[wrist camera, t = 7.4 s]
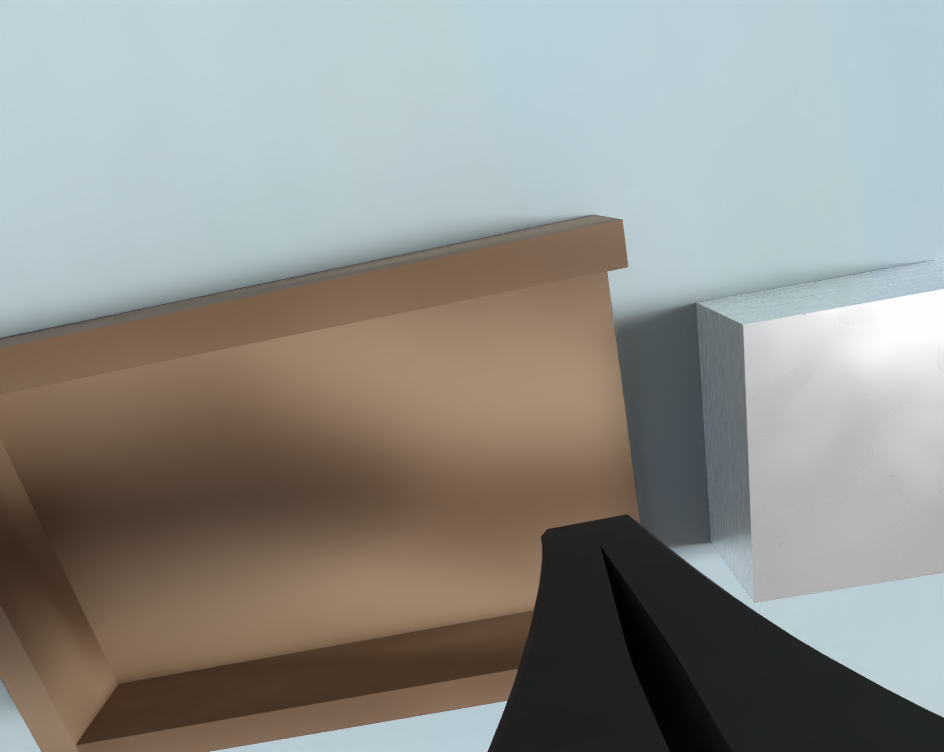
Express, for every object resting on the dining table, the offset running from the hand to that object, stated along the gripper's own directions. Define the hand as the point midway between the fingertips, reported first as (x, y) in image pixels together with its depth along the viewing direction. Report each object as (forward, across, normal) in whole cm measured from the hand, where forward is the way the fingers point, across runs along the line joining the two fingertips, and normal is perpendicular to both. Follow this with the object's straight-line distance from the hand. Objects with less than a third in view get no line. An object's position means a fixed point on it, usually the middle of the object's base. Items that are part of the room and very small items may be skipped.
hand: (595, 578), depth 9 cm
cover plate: (+5, -6, 0) cm, 8 cm away
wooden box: (+5, +5, 0) cm, 7 cm away
